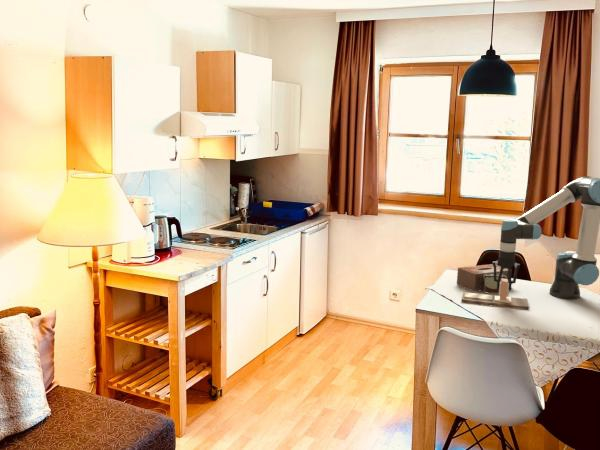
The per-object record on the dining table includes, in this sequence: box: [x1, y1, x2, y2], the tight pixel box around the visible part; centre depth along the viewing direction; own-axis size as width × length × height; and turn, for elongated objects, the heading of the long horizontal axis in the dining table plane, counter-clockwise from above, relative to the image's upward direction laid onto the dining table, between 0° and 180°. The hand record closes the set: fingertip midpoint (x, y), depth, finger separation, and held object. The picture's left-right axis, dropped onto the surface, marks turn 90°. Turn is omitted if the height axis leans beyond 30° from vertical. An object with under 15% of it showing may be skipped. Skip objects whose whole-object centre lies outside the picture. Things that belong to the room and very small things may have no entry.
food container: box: [483, 272, 507, 294], centre depth 326 cm, size 12×6×10 cm, turn 84°
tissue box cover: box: [456, 263, 513, 292], centre depth 337 cm, size 26×14×10 cm, turn 115°
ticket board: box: [461, 291, 530, 311], centre depth 307 cm, size 32×14×2 cm, turn 72°
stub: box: [495, 278, 512, 303], centre depth 305 cm, size 8×8×10 cm
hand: (503, 295), depth 306 cm, fingers closed on stub, 3 cm apart
